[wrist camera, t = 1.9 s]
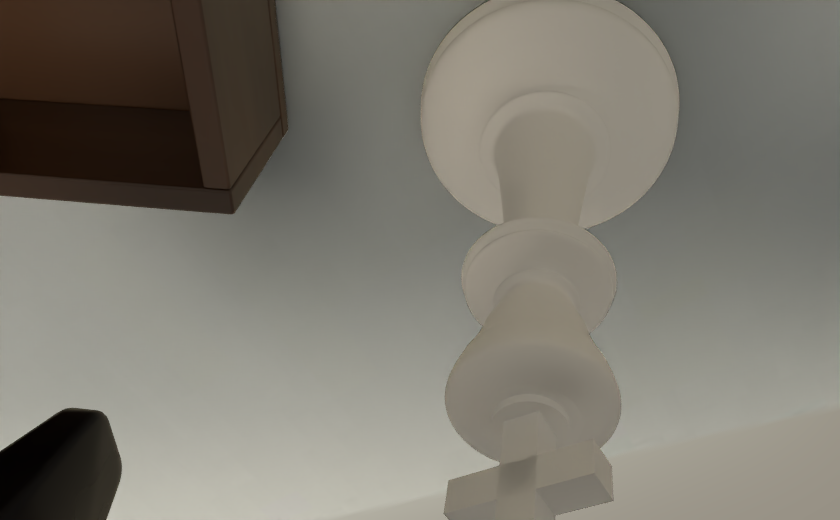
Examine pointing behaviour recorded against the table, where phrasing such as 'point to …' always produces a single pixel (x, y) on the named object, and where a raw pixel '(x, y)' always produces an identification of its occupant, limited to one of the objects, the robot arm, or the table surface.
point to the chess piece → (542, 233)
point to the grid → (139, 101)
